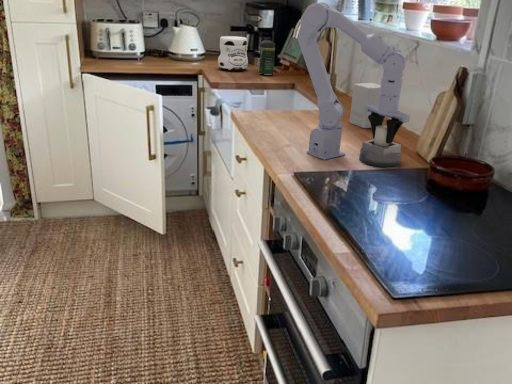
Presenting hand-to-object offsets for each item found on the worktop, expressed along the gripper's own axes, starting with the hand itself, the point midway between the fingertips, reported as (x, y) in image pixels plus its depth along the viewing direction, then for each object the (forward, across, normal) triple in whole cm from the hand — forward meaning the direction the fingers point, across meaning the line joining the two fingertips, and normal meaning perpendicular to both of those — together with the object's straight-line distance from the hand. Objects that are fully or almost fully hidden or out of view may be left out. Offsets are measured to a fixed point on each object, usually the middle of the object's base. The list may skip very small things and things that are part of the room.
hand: (382, 140), depth 146 cm
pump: (+2, 0, 0) cm, 2 cm away
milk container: (+7, +150, -53) cm, 159 cm away
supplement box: (+7, +30, -29) cm, 42 cm away
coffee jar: (+7, +129, -61) cm, 143 cm away
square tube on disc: (+6, 0, 0) cm, 6 cm away
